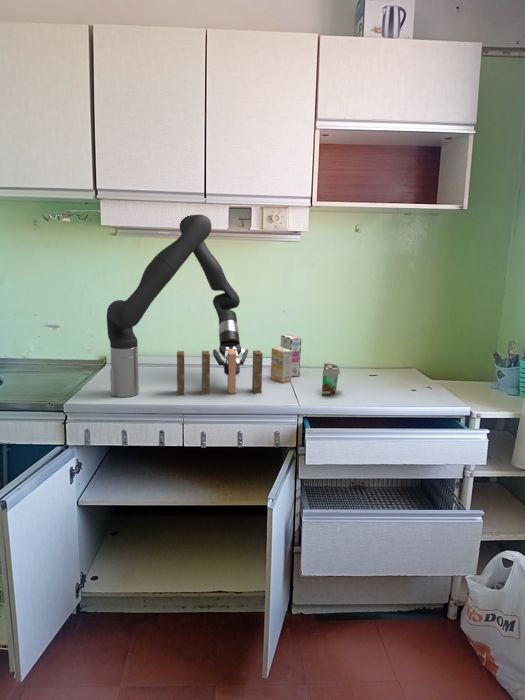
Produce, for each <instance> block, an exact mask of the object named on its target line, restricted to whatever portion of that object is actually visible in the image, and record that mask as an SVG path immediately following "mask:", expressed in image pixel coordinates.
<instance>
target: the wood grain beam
mask: <svg viewBox="0 0 525 700" xmlns="http://www.w3.org/2000/svg"><path fill="white" fill-rule="evenodd" d="M263 355H264V354H263V352H262V351H261V350H258V349H257V350H252V374H251V375H252V378H251V379H252V381H251V382H252V383H251V384H252V385H251V390H252V389H253V390H252V392H253V391H254V392H255V393H261V394H262V392H263V391H262V384H263ZM254 392H253V393H254ZM255 393H254V394H255Z"/></svg>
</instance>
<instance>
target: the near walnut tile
mask: <svg viewBox="0 0 525 700" xmlns="http://www.w3.org/2000/svg"><path fill="white" fill-rule="evenodd" d="M176 394H177V395H184V396H185V351H184V350H178V351H176ZM177 395H176V396H177Z"/></svg>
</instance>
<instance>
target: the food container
mask: <svg viewBox="0 0 525 700" xmlns="http://www.w3.org/2000/svg"><path fill="white" fill-rule="evenodd" d="M340 374H341V370H340V366H338V365H337V364H334V363H326V362H324V364H323V369H322V385H321V388H322V389H321V396H322V397H325V396H334V395H336V393H337V387H338V386H337V385H338V377H339V375H340Z"/></svg>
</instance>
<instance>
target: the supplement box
mask: <svg viewBox="0 0 525 700" xmlns="http://www.w3.org/2000/svg"><path fill="white" fill-rule="evenodd" d="M292 352H293V351H292V350H288V349H285V348H282V347H281V346H277V347H271V361H270V362H271V363H270V379H271V380H274V381H277V382H279V383H282V384H286V383H292V377H291V373H292Z"/></svg>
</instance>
